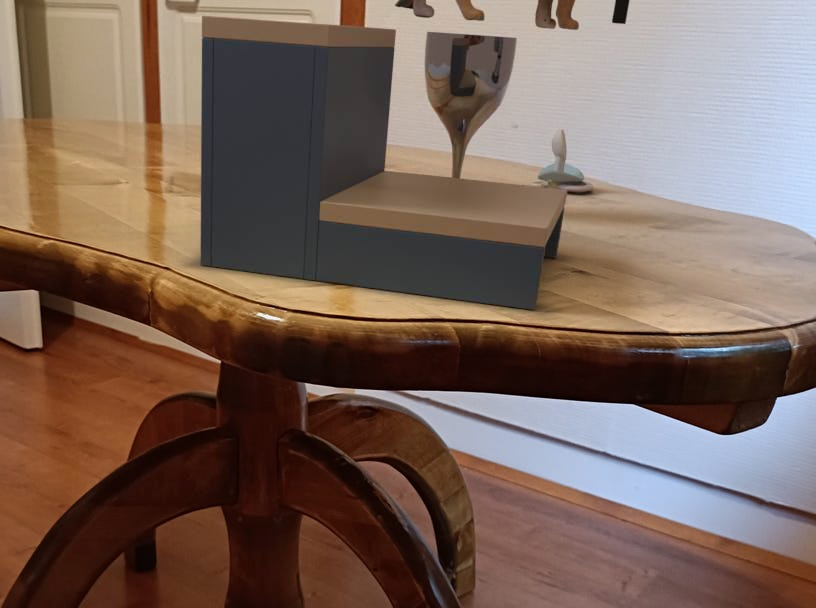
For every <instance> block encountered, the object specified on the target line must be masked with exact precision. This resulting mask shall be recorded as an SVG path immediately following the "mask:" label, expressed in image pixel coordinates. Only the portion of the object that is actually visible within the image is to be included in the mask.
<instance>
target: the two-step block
mask: <svg viewBox="0 0 816 608" xmlns="http://www.w3.org/2000/svg"><path fill="white" fill-rule="evenodd" d="M396 35H397V29H394V28H384V27H383V28H382V27H381V28H380V27H368V26H355V25H341V24H330V23H329V24H328V23H315V22H301V21H299V22H298V21H286V20H284V21H283V20H272V19H271V20H270V19H258V18H257V19H256V18H243V17H228V16H213V15H201V103H200V104H201V108H200V109H201V110H200V112H201V117H200V119H201V124H200V125H201V126H200V128H201V129H200V131H201V132H200V266H206V267H212V268H213V267H214V268H221V269H227V270H228V269H229V270H235V271H242V272H248V273H257V274H265V275H272V276H279V277H286V278H293V279H301V280H307V281H317V282H322V283H323V282H324V283H331V284H339V285H346V286H354V287H361V288H368V289H374V290H375V289H376V290H384V291H389V292H397V293H405V294H412V295H419V296H426V297H427V296H428V297H435V298H442V299H449V300H456V301H464V302H471V303H480V304H486V305H492V306H493V305H494V306H502V307H509V308H514V309H516V308H517V309H523V310H531V311H535V310H536V308H537V305H538V298H539V293H540V284H541V278H542V272H543V266H544V259H545V258H549V259H557V257H558V252H559V251H558V250H559V246H560V239H561V233H562V227H563V221H564V220H563V219H564V213H565V206H566V201H567V195H568V191H567V190H564V189H555V188H548V187H545V186H535V185H527V184H518V183H517V184H516V183H507V182H497V181H488V180H479V179H468V178H461V177H460V178H452V176H451V177H449V176H443V175H431V174H423V173H422V174H421V173H413V172H403V171H393V170H386V169H385V168H386V159H387V158H386V157H387V145H388V133H389V121H390V111H391V96H392V86H393V85H392V84H393V74H394V73H393V72H394V60H395V50H396V49H395V48H396Z"/></svg>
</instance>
